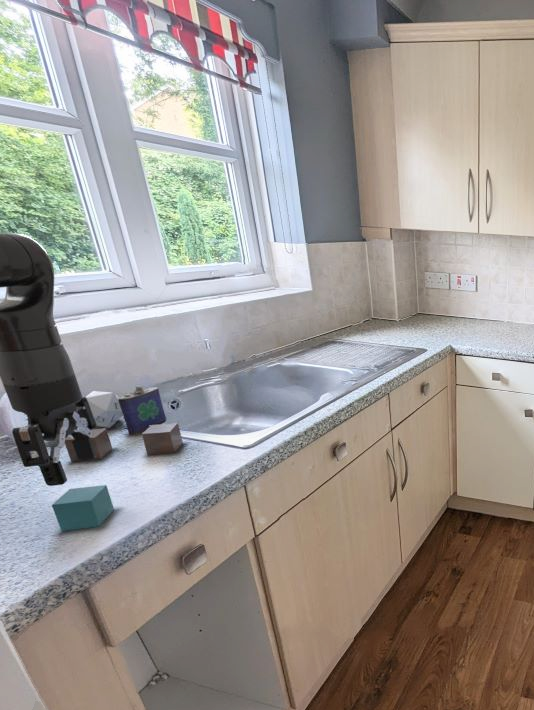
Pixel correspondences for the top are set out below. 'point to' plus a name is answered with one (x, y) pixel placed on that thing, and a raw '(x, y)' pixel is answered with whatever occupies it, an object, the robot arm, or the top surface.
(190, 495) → the top surface
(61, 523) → the teal block
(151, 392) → the flask
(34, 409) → the robot arm
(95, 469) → the top surface
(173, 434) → the block
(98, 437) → the block
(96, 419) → the die
